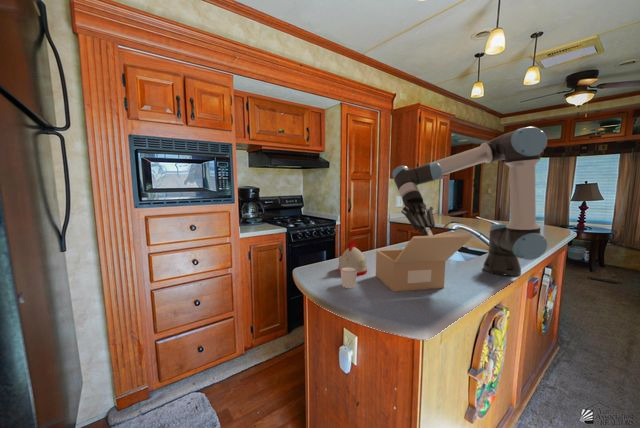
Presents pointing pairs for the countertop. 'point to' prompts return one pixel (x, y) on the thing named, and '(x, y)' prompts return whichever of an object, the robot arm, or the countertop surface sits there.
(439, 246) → the carton lid
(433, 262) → the carton
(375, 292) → the countertop surface
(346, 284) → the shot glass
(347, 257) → the kitchen timer
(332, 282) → the countertop surface
